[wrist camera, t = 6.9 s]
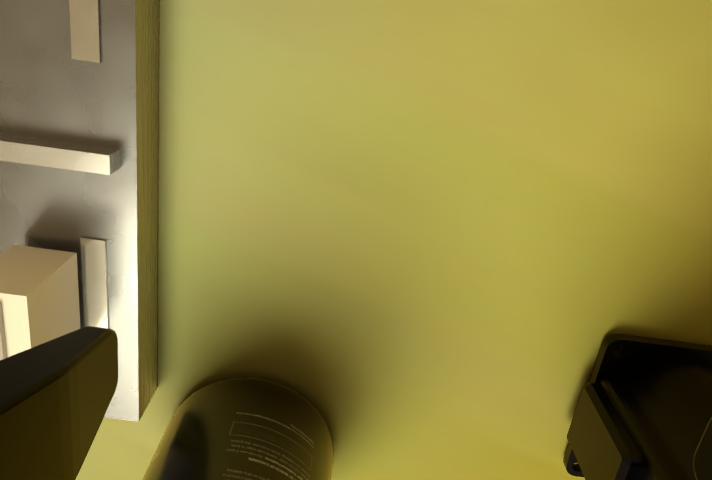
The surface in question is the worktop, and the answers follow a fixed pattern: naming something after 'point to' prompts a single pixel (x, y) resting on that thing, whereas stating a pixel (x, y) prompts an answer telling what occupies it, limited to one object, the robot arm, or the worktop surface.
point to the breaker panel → (88, 163)
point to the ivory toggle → (36, 297)
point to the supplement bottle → (244, 436)
